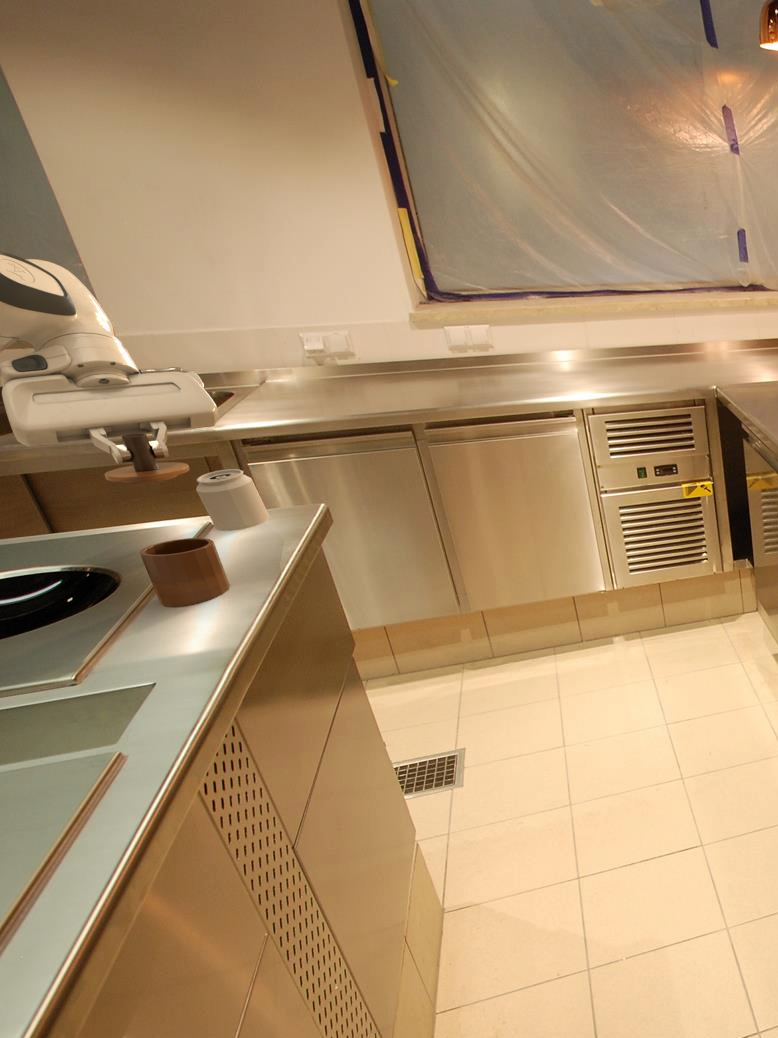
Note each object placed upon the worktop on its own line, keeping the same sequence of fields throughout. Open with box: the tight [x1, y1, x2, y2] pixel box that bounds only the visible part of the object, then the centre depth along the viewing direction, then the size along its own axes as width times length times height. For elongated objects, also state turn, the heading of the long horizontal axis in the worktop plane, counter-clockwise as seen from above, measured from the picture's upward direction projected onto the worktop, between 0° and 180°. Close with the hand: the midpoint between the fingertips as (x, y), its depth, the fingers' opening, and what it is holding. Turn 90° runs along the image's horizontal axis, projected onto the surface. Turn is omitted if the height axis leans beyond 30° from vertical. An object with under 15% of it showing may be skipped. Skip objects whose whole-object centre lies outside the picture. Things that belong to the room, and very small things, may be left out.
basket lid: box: [103, 434, 191, 485], centre depth 111 cm, size 8×8×6 cm
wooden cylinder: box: [139, 537, 231, 609], centre depth 119 cm, size 8×8×8 cm
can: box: [195, 468, 270, 532], centre depth 142 cm, size 8×8×12 cm
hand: (143, 457), depth 110 cm, fingers closed on basket lid, 2 cm apart
